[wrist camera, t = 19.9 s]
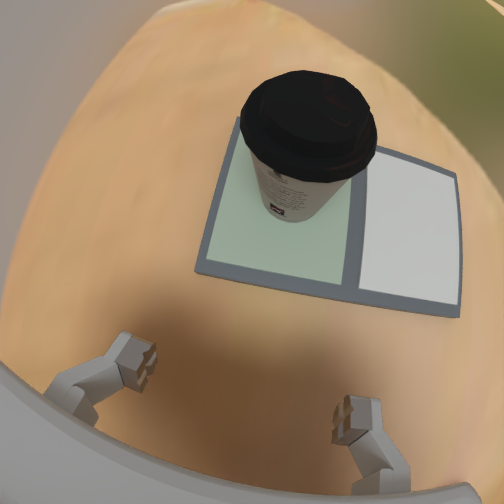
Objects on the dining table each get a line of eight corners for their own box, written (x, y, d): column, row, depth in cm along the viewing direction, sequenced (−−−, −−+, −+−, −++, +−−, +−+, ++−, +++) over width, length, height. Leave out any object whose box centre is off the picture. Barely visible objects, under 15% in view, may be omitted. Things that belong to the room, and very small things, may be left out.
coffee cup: (270, 255, 20) (284, 191, 10) (230, 174, 21) (214, 77, 12) (353, 216, 20) (415, 141, 11) (308, 145, 22) (333, 50, 12)
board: (452, 318, 20) (461, 317, 18) (196, 273, 21) (193, 270, 20) (451, 177, 23) (457, 172, 22) (237, 123, 24) (237, 114, 23)
